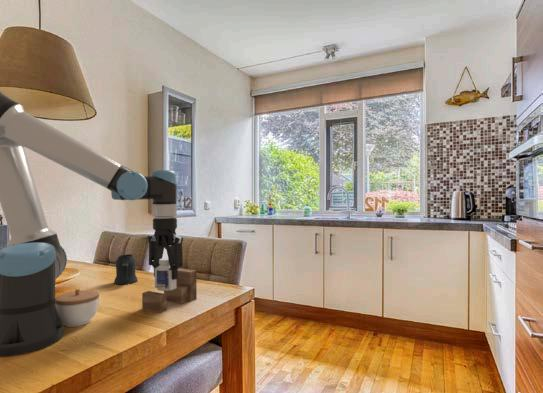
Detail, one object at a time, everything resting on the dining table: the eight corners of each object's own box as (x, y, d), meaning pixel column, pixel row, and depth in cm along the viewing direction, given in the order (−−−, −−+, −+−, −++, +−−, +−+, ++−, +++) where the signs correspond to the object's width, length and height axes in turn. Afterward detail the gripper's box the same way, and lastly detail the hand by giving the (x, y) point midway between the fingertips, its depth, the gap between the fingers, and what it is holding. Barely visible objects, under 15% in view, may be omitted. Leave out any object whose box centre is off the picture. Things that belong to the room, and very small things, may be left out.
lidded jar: (104, 322, 89) (104, 289, 89) (59, 334, 82) (59, 297, 82) (92, 313, 97) (92, 282, 97) (50, 323, 89) (50, 289, 89)
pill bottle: (168, 291, 101) (168, 260, 101) (153, 290, 102) (153, 260, 102) (177, 286, 106) (177, 257, 106) (162, 286, 107) (162, 257, 107)
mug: (114, 280, 136) (114, 254, 136) (137, 278, 139) (137, 253, 139) (112, 287, 124) (112, 259, 125) (137, 285, 128) (137, 257, 128)
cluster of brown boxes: (162, 313, 96) (162, 280, 96) (140, 308, 101) (140, 276, 101) (196, 299, 110) (196, 270, 110) (175, 295, 114) (174, 267, 114)
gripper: (194, 217, 103) (195, 288, 103) (153, 216, 111) (154, 282, 111) (177, 218, 96) (178, 294, 96) (136, 217, 105) (136, 287, 105)
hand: (165, 287), depth 104 cm, fingers closed on pill bottle, 5 cm apart
